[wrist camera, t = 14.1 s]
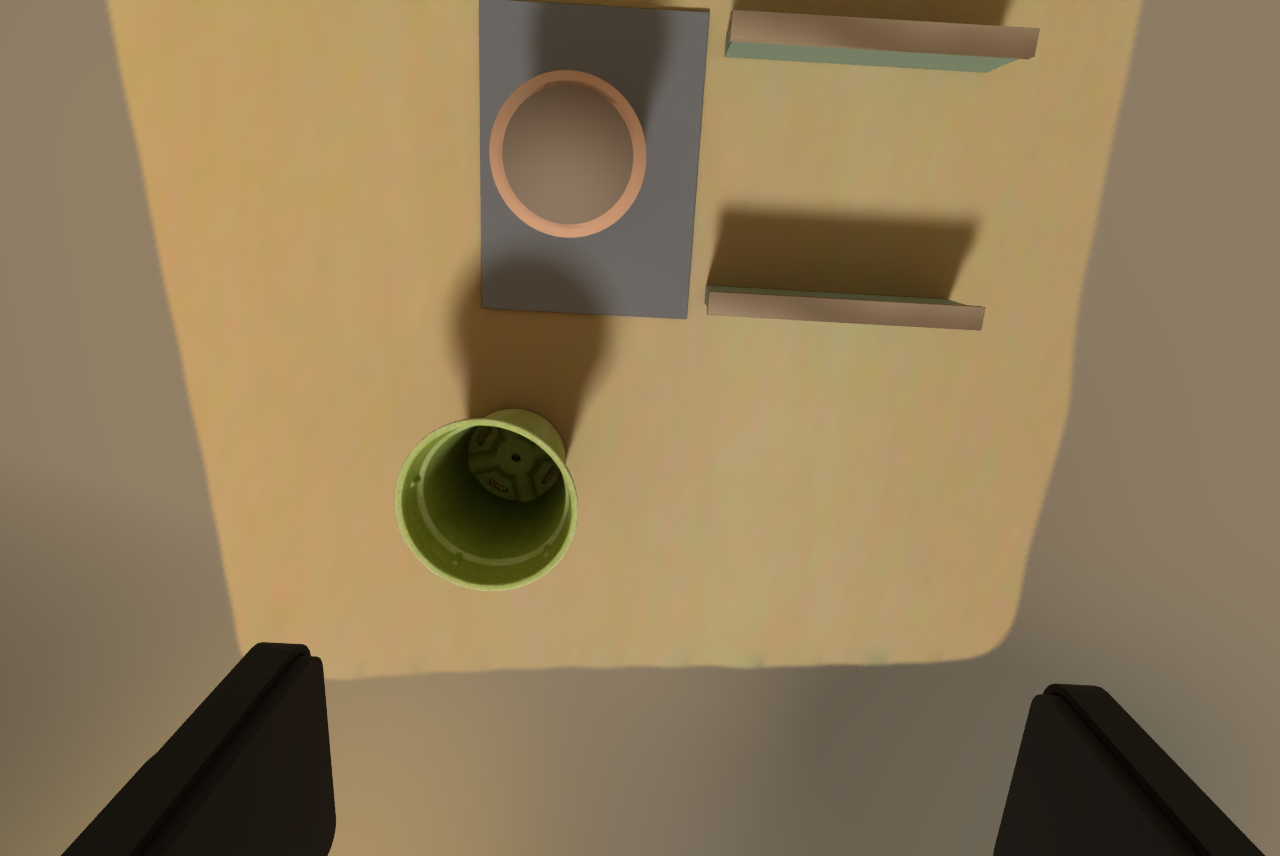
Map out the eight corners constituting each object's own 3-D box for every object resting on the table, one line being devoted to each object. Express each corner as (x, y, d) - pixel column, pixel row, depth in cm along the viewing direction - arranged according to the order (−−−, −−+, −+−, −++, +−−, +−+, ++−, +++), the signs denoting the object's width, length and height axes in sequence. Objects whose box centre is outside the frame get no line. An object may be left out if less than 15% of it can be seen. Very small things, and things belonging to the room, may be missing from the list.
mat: (479, -1, 37) (478, -2, 37) (708, 13, 37) (709, 12, 37) (482, 307, 42) (481, 307, 42) (686, 318, 42) (686, 319, 42)
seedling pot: (514, 93, 38) (487, 66, 32) (648, 98, 38) (649, 73, 32) (516, 232, 40) (490, 234, 34) (642, 237, 40) (643, 240, 34)
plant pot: (415, 478, 45) (363, 538, 37) (483, 351, 43) (443, 385, 34) (545, 547, 46) (523, 620, 38) (618, 428, 44) (612, 478, 36)
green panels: (722, 33, 38) (732, 9, 33) (993, 49, 38) (1039, 28, 33) (700, 304, 42) (707, 315, 37) (945, 318, 42) (981, 330, 37)
